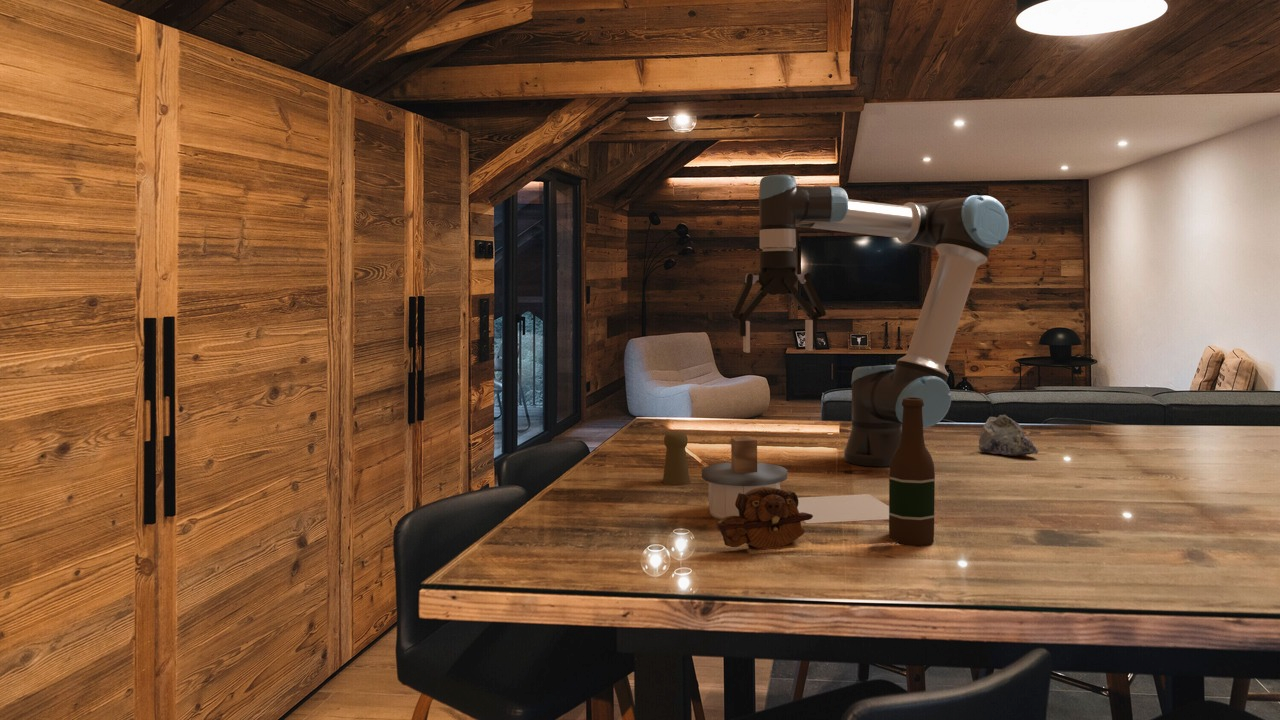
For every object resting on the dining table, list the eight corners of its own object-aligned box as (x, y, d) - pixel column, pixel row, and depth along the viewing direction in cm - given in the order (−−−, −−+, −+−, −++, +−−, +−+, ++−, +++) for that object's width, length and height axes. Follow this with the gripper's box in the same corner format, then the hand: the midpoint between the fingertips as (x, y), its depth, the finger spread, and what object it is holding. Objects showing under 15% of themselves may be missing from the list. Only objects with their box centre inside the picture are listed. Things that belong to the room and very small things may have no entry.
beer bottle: (880, 534, 158) (881, 396, 156) (924, 533, 159) (926, 394, 157) (897, 547, 150) (898, 402, 148) (943, 545, 151) (945, 400, 149)
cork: (687, 485, 198) (687, 435, 197) (660, 484, 200) (659, 434, 199) (692, 479, 204) (691, 430, 203) (665, 478, 205) (664, 430, 205)
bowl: (768, 503, 182) (768, 468, 181) (787, 520, 169) (787, 482, 168) (703, 506, 180) (703, 471, 179) (717, 523, 167) (717, 485, 166)
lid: (774, 466, 183) (773, 430, 182) (798, 483, 167) (798, 444, 166) (694, 469, 181) (694, 433, 180) (711, 487, 165) (710, 448, 164)
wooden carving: (727, 558, 146) (726, 496, 145) (714, 550, 151) (714, 490, 150) (817, 546, 152) (817, 487, 151) (803, 539, 156) (803, 481, 155)
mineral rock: (1040, 460, 219) (1041, 418, 218) (996, 461, 219) (997, 419, 218) (1016, 450, 232) (1017, 411, 231) (974, 451, 232) (975, 412, 231)
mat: (868, 497, 185) (868, 494, 185) (908, 521, 166) (908, 518, 166) (776, 501, 183) (776, 498, 183) (806, 526, 164) (806, 523, 164)
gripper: (828, 250, 199) (828, 348, 201) (715, 251, 195) (716, 351, 197) (841, 248, 191) (840, 350, 193) (723, 250, 188) (724, 354, 190)
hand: (778, 351), depth 195 cm, fingers open, 13 cm apart
